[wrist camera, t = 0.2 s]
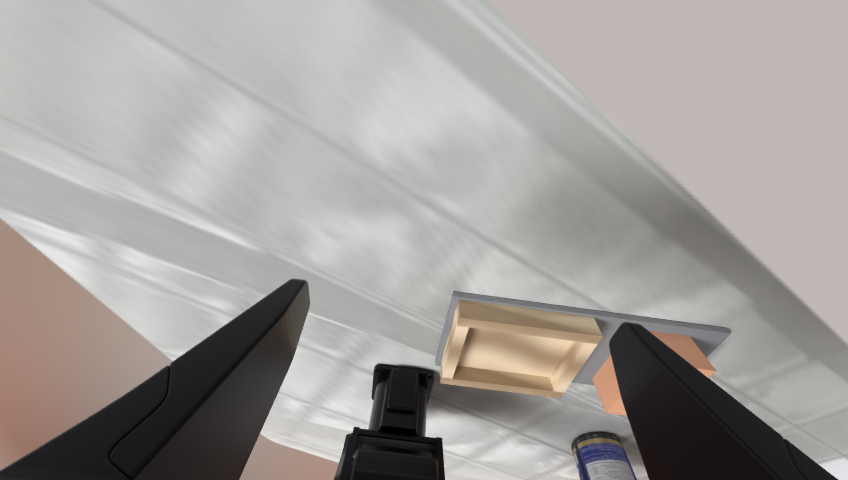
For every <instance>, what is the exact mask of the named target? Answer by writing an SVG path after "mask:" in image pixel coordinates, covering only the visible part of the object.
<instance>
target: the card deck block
mask: <svg viewBox="0 0 848 480" xmlns="http://www.w3.org/2000/svg"><path fill="white" fill-rule="evenodd" d="M649 332H651V333H652V334H653V335H654V336H656V337H657V338H658V339H660V340H661V341H662V342H663V343H665V344H666V345H667V346H668V347H670V348H671V349H672V350H673V351H675V352H676V353H677V354H679V355H680V356H681V357H682V358H684V359H685V360H686V361H687V362H689V363H690V364H691V365H692V366H694V367H695V368H696V369H698V370H699V371H700V372H701V373H703V374H704V375H705V376H706V377H708V378H709V377H710V376H711V375H712V374H713V373H715V372H716V370H715V369H714V367H713V366H712V365H711V364H710V362H709V361H708V360H707V358H706V357H705V356H704V354H703V353H702V352H701V350H700V349H699V348H698V346H697V345H696V344H695V342H694V341H693V340H692V339H691V337H690V336H685V335H678V334H670V333H663V332H655V331H649ZM592 380H593V382H594V385H595V387H596V390H597V392H598V394H599V397H600V399H601V402H602V404H603V407H604V409H605V412H606V413H611V414H619V415H627V414H626V411H625V408H624V405H623V402H622V399H621V395H620V391H619V387H618V383H617V379H616V375H615V370H614V366H613V362H612V358H611V355H610V356H609V357H608V359H607V360H606V361H605V363H604V364H603V365H602V367H601V368H600V369H599V371H598V372H597V373H596V375H595V376H594V377H593V379H592Z"/></svg>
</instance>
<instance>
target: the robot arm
mask: <svg viewBox="0 0 848 480" xmlns="http://www.w3.org/2000/svg"><path fill="white" fill-rule="evenodd" d="M309 305H310V298H309V287H308V282H307V281H306V280H301V279H291V280H289V281H288V282H286V283H285V284H283V285H282V286H280V287H279V288H278V289H276V290H275V291H273V292H272V293H270V294H269V295H267V296H266V297H265V298H263V299H262V300H260V301H259V302H257V303H256V304H255V305H253V306H252V307H250V308H249V309H247V310H246V311H245V312H243V313H242V314H240V315H239V316H237V317H236V318H235V319H233V320H232V321H230V322H229V323H227V324H226V325H225V326H223V327H222V328H220V329H219V330H217V331H216V332H215V333H213V334H212V335H210V336H209V337H207V338H206V339H205V340H203V341H202V342H200V343H199V344H197V345H196V346H195V347H193V348H192V349H190V350H189V351H187V352H186V353H185V354H183V355H182V356H180V357H179V358H177V359H176V360H175V361H173V362H172V363H171V364H170V366H166V367H164V368H163V369H161V370H160V371H159V372H157V373H156V374H155V375H153V376H152V377H150V378H149V379H147V380H146V381H144V382H143V383H141V384H140V385H138V386H137V387H135V388H134V389H132V390H131V391H129V392H128V393H126V394H125V395H123V396H122V397H120V398H118V399H117V400H115V401H114V402H112V403H110V404H109V405H107V406H106V407H104V408H102V409H101V410H99V411H98V412H96V413H94V414H93V415H91V416H90V417H88V418H87V419H85V420H83V421H81V422H80V423H78V424H76V425H75V426H73V427H72V428H70V429H68V430H67V431H65V432H63V433H62V434H60V435H58V436H57V437H55V438H53V439H52V440H50V441H48V442H47V443H45V444H43V445H42V446H40V447H39V448H37V449H35V450H34V451H32V452H30V453H29V454H27V455H25V456H24V457H22V458H20V459H19V460H17V461H15V462H14V463H12V464H11V465H9V466H7V467H5V468H4V469H2V470H0V480H239V478H240V476H241V474H242V472H243V469H244V467H245V465H246V463H247V460H248V458H249V456H250V454H251V451H252V449H253V447H254V445H255V442H256V441H257V438H258V436H259V434H260V432H261V429H262V427H263V425H264V423H265V420H266V418H267V416H268V414H269V412H270V409H271V407H272V405H273V403H274V400H275V398H276V396H277V394H278V392H279V389H280V387H281V385H282V383H283V380H284V378H285V376H286V374H287V371H288V369H289V367H290V365H291V362H292V360H293V357H294V354H295V351H296V348H297V345H298V342H299V338H300V335H301V332H302V329H303V326H304V323H305V319H306V316H307V313H308V310H309ZM609 349H610V354H611V358H612V362H613V366H614V370H615V375H616V379H617V383H618V387H619V391H620V395H621V399H622V402H623V405H624V408H625V411H626V414H627V417H628V420H629V422H630V425H631V428H632V431H633V434H634V437H635V440H636V443H637V445H638V448H639V451H640V454H641V457H642V460H643V463H644V466H645V468H646V471H647V474H648V477H649V480H838V479H836V478H835V477H834V476H832V475H831V474H830V473H829V472H827V471H826V470H825V469H823V468H822V467H821V466H820V465H818V464H817V463H816V462H814V461H813V460H812V459H810V458H809V457H808V456H807V455H805V454H804V453H803V452H802V451H800V450H799V449H798V448H796V447H795V446H794V445H793V444H791V443H790V442H789V441H788V440H786V439H783V437H782V436H781V435H780V434H779V433H777V432H776V431H775V430H774V429H772V428H771V427H770V426H769V425H767V424H766V423H765V422H763V421H762V420H761V419H760V418H758V417H757V416H756V415H755V414H753V413H752V412H751V411H750V410H748V409H747V408H746V407H744V406H743V405H742V404H741V403H739V402H738V401H737V400H736V399H734V398H733V397H732V396H730V395H729V394H728V393H727V392H725V391H724V390H723V389H722V388H720V387H719V386H718V385H717V384H715V383H714V382H713V381H711V380H710V379H709V378H708V377H706V376H705V375H704V374H703V373H701V372H700V371H699V370H698V369H696V368H695V367H694V366H692V365H691V364H690V363H689V362H687V361H686V360H685V359H684V358H682V357H681V356H680V355H679V354H677V353H676V352H675V351H673V350H672V349H671V348H670V347H668V346H667V345H666V344H665V343H663V342H662V341H661V340H660V339H658V338H657V337H656V336H654V335H653V334H652V333H651V332H649V331H648V330H647V329H646V328H644V327H643V326H642V325H640V324H638V323H631V322H623V323H622V324H621V325H620V326H619V327H618V329H617V330H616V332H615V333H614V334H613V336H612V337H611V339H610V341H609ZM433 381H434V372H432V371H425V370H417V369H409V368H401V367H393V366H385V365H376V366H375V368H374V377H373V389H372V399H373V400H374V401H373V407H372V413H371V418H370V424H369V429H368V430H367V429H360V427H354V430H353V433H351V434H348V435H346V439H345V443H344V448H343V452H342V455H341V459H340V462H339V465H338V468H337V471H336V475H335V478H334V480H445V473H444V460H443V446H442V438H439V437H436V438H431V437H425V432H426V408H427V403H428V400H429V396H430V392H431V389H432V385H433Z"/></svg>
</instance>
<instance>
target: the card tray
mask: <svg viewBox="0 0 848 480" xmlns="http://www.w3.org/2000/svg"><path fill="white" fill-rule="evenodd" d="M602 338H603V335H602V333H601V331H600V329H599V327H598V325H597V323H596V321H595V319H594V317H589V316H581V315H574V314H566V313H559V312H552V311H544V310H537V309H529V308H522V307H514V306H507V305H499V304H492V303H484V302H477V301H469V300H462V299H459V300H458V303H457V307H456V310H455V314H454V318H453V321H452V325H451V328H450V332H449V336H448V339H447V343H446V346H445V350H444V354H443V357H442V361H441V367H440V383H442V384H450V385H458V386H466V387H474V388H482V389H490V390H499V391H507V392H515V393H523V394H531V395H539V396H547V397H555V398H561V396H562V395H563V393H564V392H565V390H566V389H567V388H568V386H569V385H570V383H571V382H572V380H573V379H574V378H575V376H576V375H577V373H578V372H579V370H580V369H581V368H582V366H583V365H584V363H585V362H586V360H587V359H588V358H589V356H590V355H591V353H592V352H593V350H594V349H595V348H596V346H597V345H598V343H599V342H600V340H601V339H602Z"/></svg>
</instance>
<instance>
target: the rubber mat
mask: <svg viewBox="0 0 848 480" xmlns="http://www.w3.org/2000/svg"><path fill="white" fill-rule="evenodd" d="M459 299H462V300H469V301H477V302H484V303H492V304H499V305H507V306H514V307H522V308H529V309H537V310H544V311H552V312H559V313H566V314H574V315H581V316H589V317H594V319H595V321H596V323H597V325H598V327H599V329H600V331H601V333H602V335H603V338H602V339H601V340H600V342H599V343H598V345H597V346H596V348H595V349H594V350H593V352H592V353H591V355H590V356H589V358H588V359H587V360H586V362H585V363H584V365H583V366H582V368H581V369H580V370H579V372H578V373H577V375H576V376H575V378H574V379H573V380H572V382H574V383H581V384H589V385H594V382H593V380H592V379H593V377H594V376H595V375H596V373H597V372H598V371H599V369H600V368H601V367H602V365H603V364H604V363H605V361H606V360H607V359H608V357H609V356H610V355H611V354H610V349H609V341H610V339H611V337H612V336H613V334H614V333H615V332H616V330H617V329H618V327H619V326H620V325H621V324H622V323H623V322H631V323H638V324H640V325H642V326H643V327H644V328H646V329H647V330H648V331H655V332H663V333H670V334H678V335H685V336H690V337H691V339H692V340H693V341H694V342H695V344H696V345H697V346H698V348H699V349H700V350H701V352H702V353H703V354H704V356H705V357H706V358H707V357H708V356H709V355H710V354H711V353H712V352H713V351H714V350H715V349H716V348H717V347H718V346H719V345H720V344H721V343H722V342H723V341H724V340H725V339H726V338H727V337H728V336H729V335H730V334H731V332H730V331H729V330H728V329H727V328H722V327H715V326H707V325H700V324H692V323H685V322H677V321H670V320H662V319H655V318H648V317H640V316H633V315H625V314H618V313H610V312H603V311H596V310H588V309H581V308H573V307H566V306H558V305H551V304H544V303H536V302H529V301H521V300H514V299H506V298H499V297H491V296H484V295H477V294H469V293H462V292H454V291H453V294H452V298H451V302H450V306H449V310H448V314H447V317H446V321H445V325H444V329H443V333H442V337H441V341H440V344H439V348H438V352H437V356H436V360H435V365H438V366H441V361H442V357H443V354H444V350H445V346H446V343H447V339H448V336H449V332H450V328H451V325H452V321H453V318H454V314H455V310H456V307H457V303H458V300H459Z"/></svg>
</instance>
